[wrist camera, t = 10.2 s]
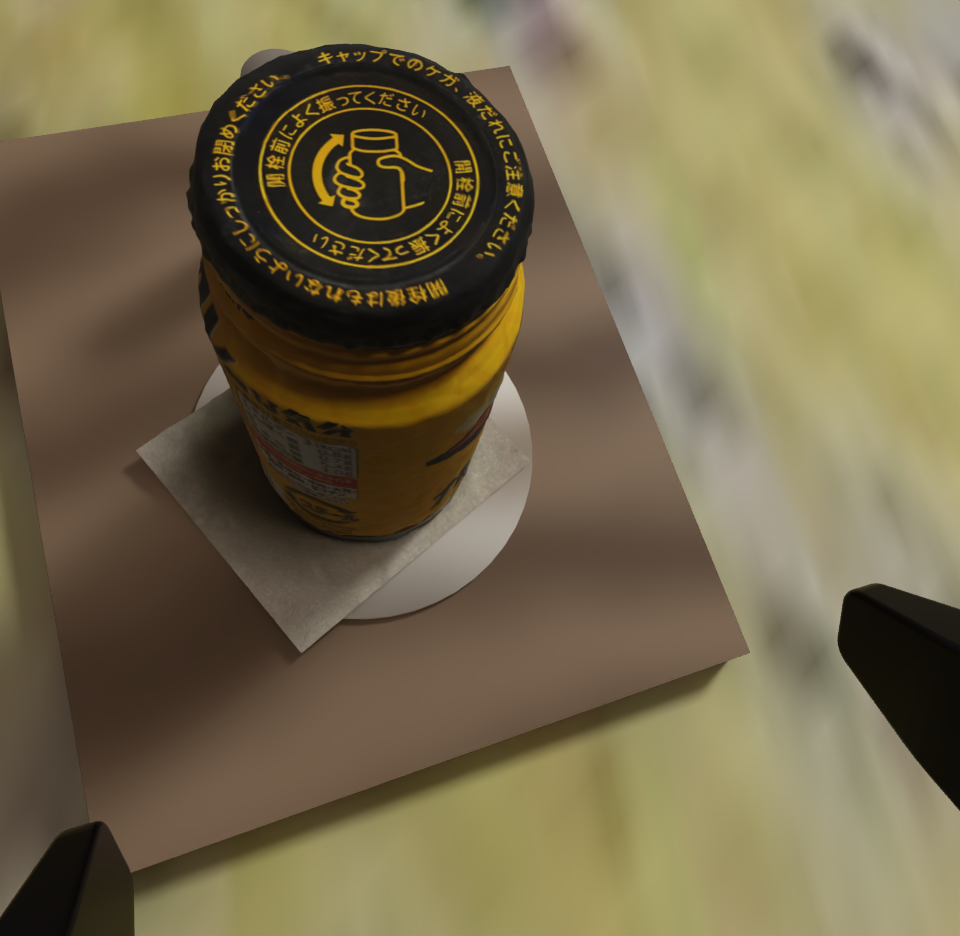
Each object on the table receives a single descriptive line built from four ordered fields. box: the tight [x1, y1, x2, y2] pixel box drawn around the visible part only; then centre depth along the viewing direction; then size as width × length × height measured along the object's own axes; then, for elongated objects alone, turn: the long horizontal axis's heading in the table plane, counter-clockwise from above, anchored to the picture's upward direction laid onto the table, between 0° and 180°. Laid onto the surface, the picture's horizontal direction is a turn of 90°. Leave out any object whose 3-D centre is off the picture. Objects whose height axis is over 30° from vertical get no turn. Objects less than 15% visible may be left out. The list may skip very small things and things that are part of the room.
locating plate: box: [0, 49, 750, 873], centre depth 21 cm, size 22×18×7 cm
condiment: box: [136, 44, 535, 653], centre depth 17 cm, size 7×8×12 cm
